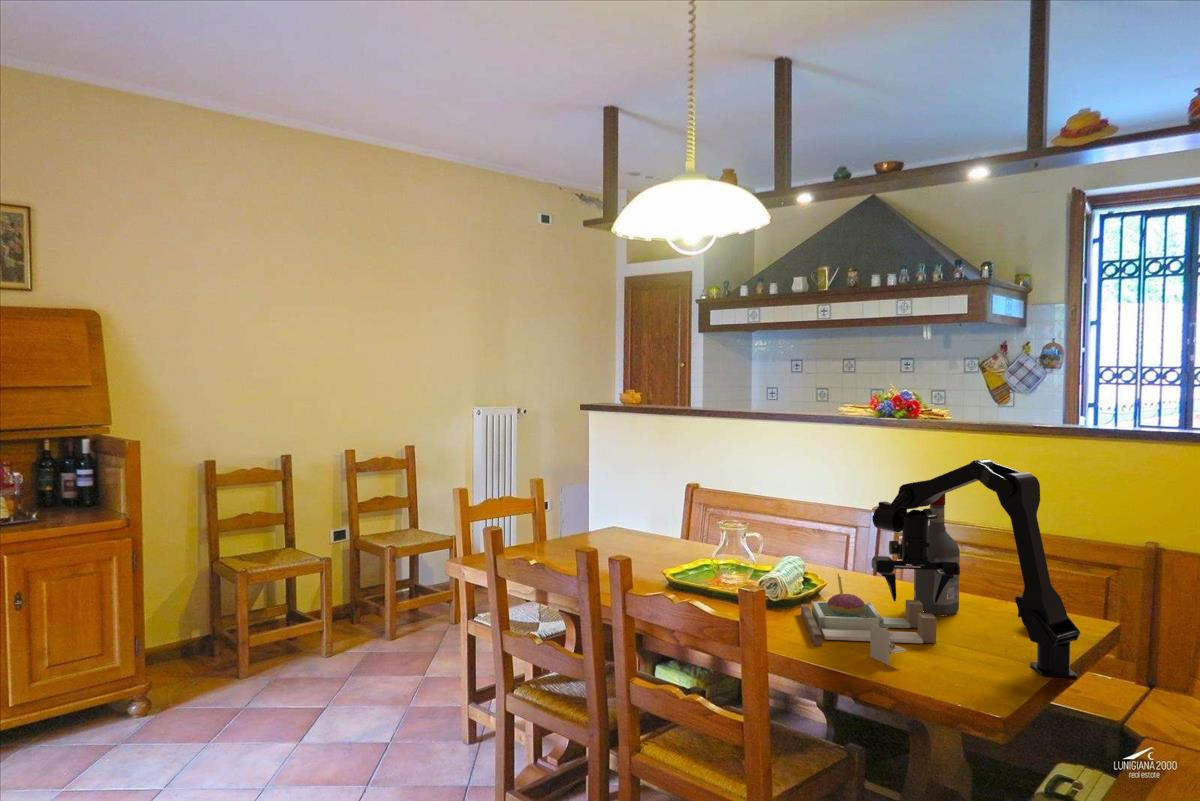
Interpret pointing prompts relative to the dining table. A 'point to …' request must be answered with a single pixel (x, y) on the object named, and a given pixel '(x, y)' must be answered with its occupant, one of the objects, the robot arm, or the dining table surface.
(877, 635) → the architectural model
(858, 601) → the cupcake
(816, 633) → the walnut back rail
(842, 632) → the cream lane
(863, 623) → the tray
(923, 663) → the dining table surface
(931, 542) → the liquor
